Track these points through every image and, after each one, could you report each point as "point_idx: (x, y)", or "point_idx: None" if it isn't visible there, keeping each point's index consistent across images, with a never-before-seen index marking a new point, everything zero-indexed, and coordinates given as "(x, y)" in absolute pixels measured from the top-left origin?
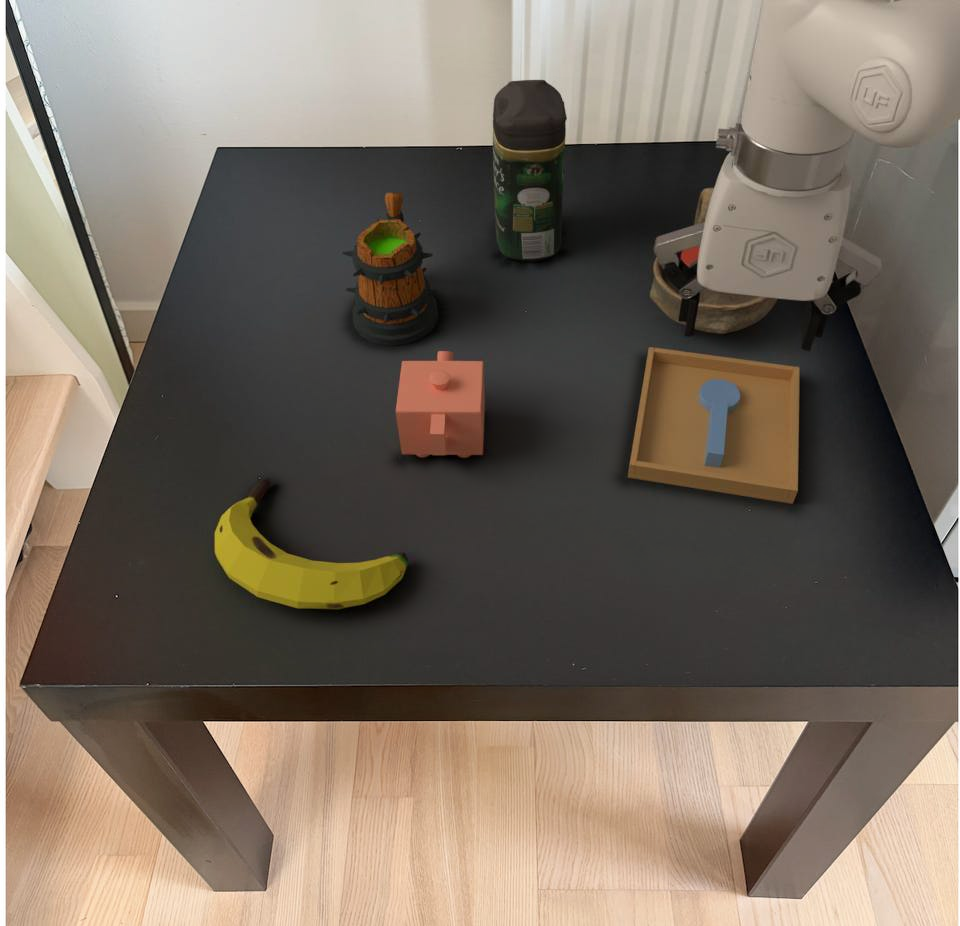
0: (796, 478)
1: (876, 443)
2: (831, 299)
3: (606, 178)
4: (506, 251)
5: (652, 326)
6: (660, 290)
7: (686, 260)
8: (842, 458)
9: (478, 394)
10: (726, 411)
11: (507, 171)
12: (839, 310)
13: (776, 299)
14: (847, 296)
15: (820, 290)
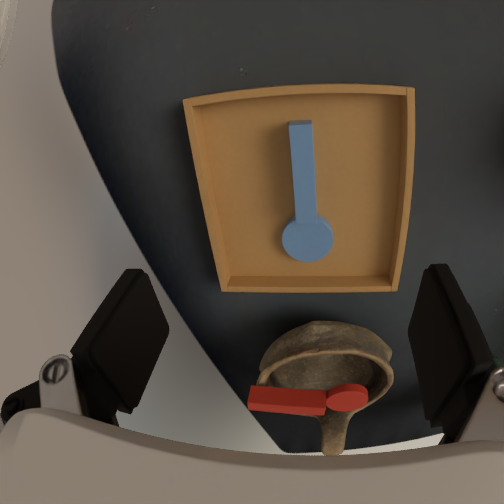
0: (187, 118)
1: (133, 213)
2: (40, 396)
3: (401, 427)
4: (498, 361)
5: (384, 320)
6: (387, 359)
7: (363, 396)
8: (156, 183)
9: None
10: (296, 205)
11: None
12: (208, 355)
13: (260, 363)
14: (26, 396)
15: (3, 441)
